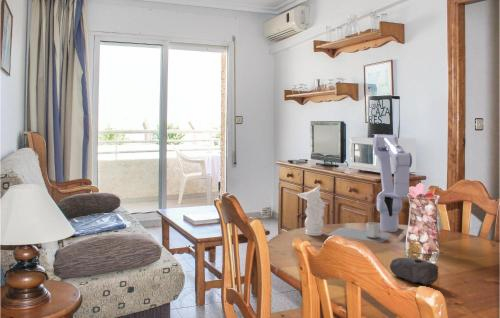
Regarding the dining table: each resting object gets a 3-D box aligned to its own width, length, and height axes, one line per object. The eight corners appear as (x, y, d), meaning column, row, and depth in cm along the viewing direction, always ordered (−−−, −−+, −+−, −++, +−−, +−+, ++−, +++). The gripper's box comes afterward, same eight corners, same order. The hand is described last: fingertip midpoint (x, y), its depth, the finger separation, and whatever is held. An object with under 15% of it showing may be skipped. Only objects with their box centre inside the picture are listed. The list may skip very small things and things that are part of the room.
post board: (340, 230, 195) (340, 216, 195) (392, 237, 183) (393, 222, 183) (326, 238, 182) (327, 223, 181) (382, 246, 170) (383, 229, 169)
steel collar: (368, 233, 181) (368, 221, 181) (381, 235, 178) (381, 223, 178) (364, 236, 177) (364, 224, 176) (377, 238, 174) (377, 225, 173)
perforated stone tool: (385, 275, 136) (385, 253, 136) (395, 272, 139) (395, 251, 139) (429, 290, 124) (430, 266, 124) (439, 286, 127) (440, 262, 127)
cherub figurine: (318, 241, 177) (318, 187, 176) (290, 237, 184) (291, 185, 182) (329, 235, 188) (330, 184, 186) (302, 231, 194) (303, 182, 192)
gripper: (380, 183, 174) (379, 216, 175) (418, 185, 166) (417, 220, 167) (384, 181, 180) (384, 213, 181) (422, 183, 172) (421, 217, 173)
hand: (400, 217), depth 174 cm, fingers open, 7 cm apart
